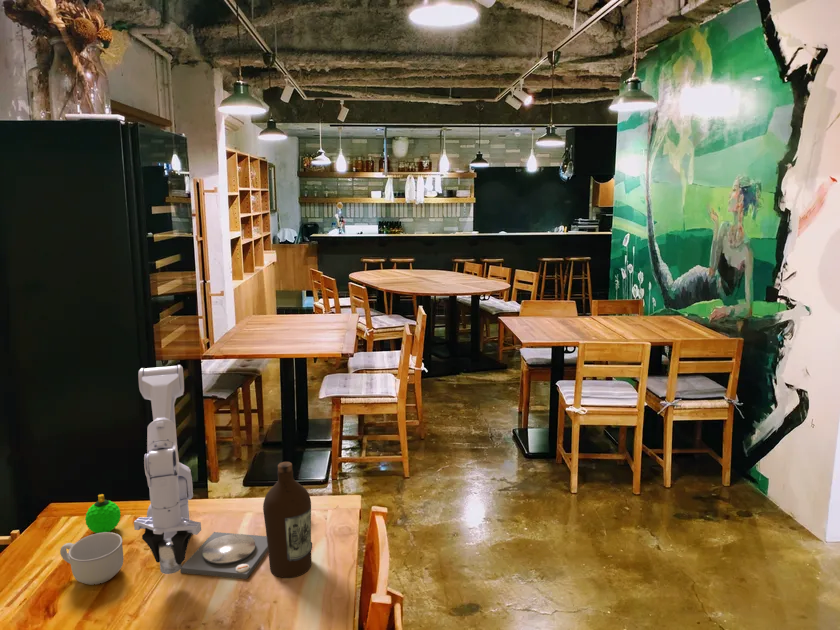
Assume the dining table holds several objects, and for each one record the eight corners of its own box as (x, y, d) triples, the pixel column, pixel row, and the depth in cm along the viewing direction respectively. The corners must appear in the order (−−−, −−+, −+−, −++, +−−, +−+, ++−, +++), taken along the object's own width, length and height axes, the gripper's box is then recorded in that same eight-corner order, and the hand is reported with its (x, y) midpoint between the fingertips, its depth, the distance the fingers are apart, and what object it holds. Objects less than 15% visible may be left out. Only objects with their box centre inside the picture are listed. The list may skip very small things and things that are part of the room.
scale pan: (192, 561, 146) (192, 559, 146) (217, 534, 158) (217, 532, 158) (242, 566, 144) (241, 563, 144) (263, 538, 156) (263, 536, 156)
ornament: (108, 521, 169) (104, 485, 167) (129, 528, 165) (125, 491, 163) (79, 535, 162) (75, 498, 160) (101, 543, 158) (97, 505, 156)
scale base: (180, 572, 145) (180, 566, 145) (214, 536, 161) (213, 530, 160) (247, 578, 142) (246, 572, 142) (274, 541, 158) (274, 535, 158)
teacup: (136, 568, 147) (132, 536, 146) (98, 595, 137) (94, 561, 136) (89, 557, 152) (85, 526, 150) (49, 583, 142) (45, 550, 140)
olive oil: (257, 568, 147) (250, 465, 142) (294, 548, 154) (289, 451, 150) (286, 585, 140) (279, 478, 135) (323, 564, 148) (318, 462, 143)
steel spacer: (156, 573, 138) (153, 547, 137) (167, 561, 142) (165, 536, 141) (175, 575, 137) (173, 549, 136) (185, 563, 141) (183, 538, 140)
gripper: (123, 509, 134) (129, 568, 136) (187, 514, 131) (192, 574, 134) (142, 494, 141) (148, 550, 143) (204, 498, 138) (208, 555, 141)
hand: (170, 560), depth 139 cm, fingers closed on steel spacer, 4 cm apart
